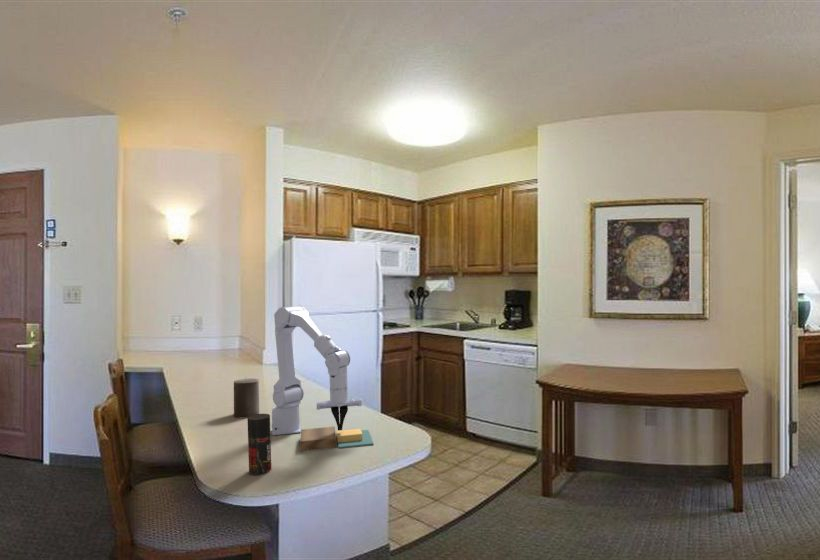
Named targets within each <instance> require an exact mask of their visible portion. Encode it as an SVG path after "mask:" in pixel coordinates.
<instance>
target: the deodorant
mask: <svg viewBox="0 0 820 560" xmlns="http://www.w3.org/2000/svg"><path fill="white" fill-rule="evenodd" d="M246 418H247V446H248V450H247V452H248V473H250V475H251V474H252V475H251V476H261V474H262V475H265V473H266V474H268V473H269V471H270V470H271V471H272V444H271V443H272V441H271V439H272V437H271V436H272V435H271V416H270V414H268V413H259V414H255V415H251V416H249V417H246ZM271 471H270V472H271ZM267 472H268V473H267Z"/></svg>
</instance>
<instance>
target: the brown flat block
mask: <svg viewBox="0 0 820 560" xmlns="http://www.w3.org/2000/svg"><path fill="white" fill-rule="evenodd" d="M336 433H337V432H336V427H335V426H327V427H316V428H305V429H301V432H300V439H299V441H300V442H299V445H300V446H299V447H300V448H299V449H300V452H307V450H308V451H317V450H327V449H336V448H338V446H337V436H336Z"/></svg>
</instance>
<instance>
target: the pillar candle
mask: <svg viewBox="0 0 820 560" xmlns="http://www.w3.org/2000/svg"><path fill="white" fill-rule="evenodd" d="M259 380H260V379H258V378H247V377H244V378H239V379H236V380H234V381H233V416H234V417H235V416H236V417H235V418H240V417H246V418H248V417H249V416H251V415H255V414H260V386H259V385H260V381H259Z"/></svg>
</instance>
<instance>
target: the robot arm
mask: <svg viewBox="0 0 820 560" xmlns="http://www.w3.org/2000/svg"><path fill="white" fill-rule="evenodd" d="M309 313H310V312H309V311H308V310H307V309H306V307H304V306H302V305H297V306H295V305H294V306H281V307H279V308H277V310H276V311H275V312H274V315H273V317H274V335H275V345H276V357H277V368H278V377H279V378H278V380H277V381H276V383H275V384H274V385H273V393H272V400H273V403H274V405H275V406H272V408H271V429H272V430H271V431H272V433H271V434H272V435H271V436H278V435H289V434H297V433H298V434H299V433H300V434H301V430H302V424H300V423H301V422H300V420H301V418H300V405H301V401H302V400H303V399H304V394H305V393H304V389H303V387H302V383H301V382H302V381H301V380H300V379H299V378H298V377H296V371H295V361H294V350H293V341H292V340H293V339H292V332H293V331H294V330H295V329H296V328H300V329H301V330H302V331H303V332H304V333H305V334H306V335H307V336H309V338H310V339H312V341H313V342H314V343H313V346H314V348H315V349H316V350H317V352H318V353H319V354H320V355H321V356H322V357H323V358H324V359H325V360H324V364H325V367H326V369H327V374H328V375H329V400H326V401H318V402H316V411H317V410H318V411H319V410H323V409H330V412H331V414H332V416H333V417H334V421H335V422H336V426H337V431H341V430H343V426H344V421H345V419H346V415H347V413H348V410H349V408H348V407H357V406H358V407H361V406H363V404H362V401H363V400H362V399H361V398H349V391H348V366H349V365H350V364H351V356H350V353H349V352H348V351H347V350H346V349H342V348H340V347H339V346H338V345H337V344H336V343H335V342H334V340H333V339H332V337H331V336H330V335H328V334H323V333H322V332H321V331H320V329H319V328H318V327H317V325H316V324H315V323H314V321H313V320H312V319H311V317H310V314H309Z"/></svg>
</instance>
